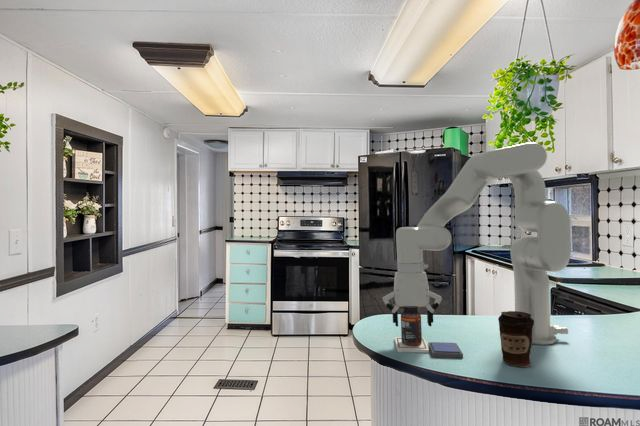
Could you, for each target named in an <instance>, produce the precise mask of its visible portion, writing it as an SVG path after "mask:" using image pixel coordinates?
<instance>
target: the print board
mask: <svg viewBox="0 0 640 426" xmlns="http://www.w3.org/2000/svg"><path fill="white" fill-rule="evenodd" d="M394 341H395V348H396V352H397V353H420V354H421V353H423V354H424V353H427V354H430V349H429V347H428V344H427V343H428V342H427V341H426V339H425V337H422V343H421V344H420V345H418V346H408V345H405V344H403V343H402V339H401V336H395V337H394Z"/></svg>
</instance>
